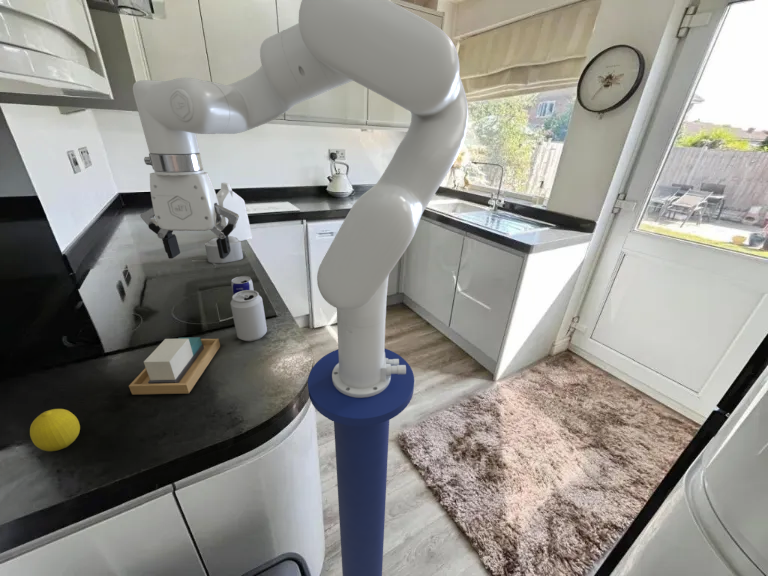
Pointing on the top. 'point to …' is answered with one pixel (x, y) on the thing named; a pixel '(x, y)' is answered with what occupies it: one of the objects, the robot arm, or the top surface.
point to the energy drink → (241, 284)
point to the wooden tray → (187, 381)
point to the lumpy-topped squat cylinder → (214, 253)
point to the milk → (235, 205)
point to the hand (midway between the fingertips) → (200, 256)
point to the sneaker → (172, 359)
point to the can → (248, 315)
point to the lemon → (54, 429)
